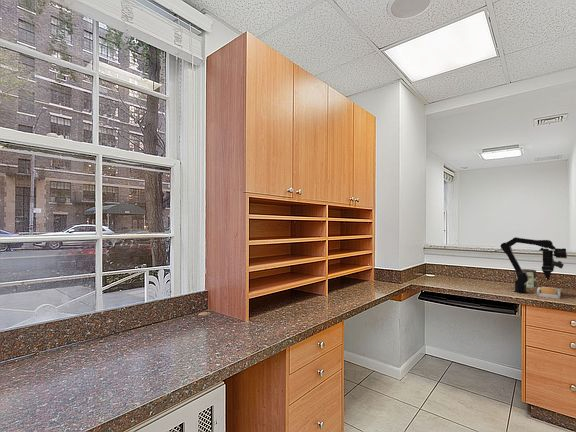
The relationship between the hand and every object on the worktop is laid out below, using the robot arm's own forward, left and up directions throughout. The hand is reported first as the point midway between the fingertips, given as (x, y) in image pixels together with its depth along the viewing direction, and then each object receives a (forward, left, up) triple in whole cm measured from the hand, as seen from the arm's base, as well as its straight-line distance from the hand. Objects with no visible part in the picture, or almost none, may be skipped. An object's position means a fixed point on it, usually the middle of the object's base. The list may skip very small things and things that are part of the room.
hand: (548, 278), depth 220 cm
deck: (+6, +5, -12) cm, 15 cm away
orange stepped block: (0, 0, -13) cm, 13 cm away
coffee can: (+16, +31, -13) cm, 37 cm away
